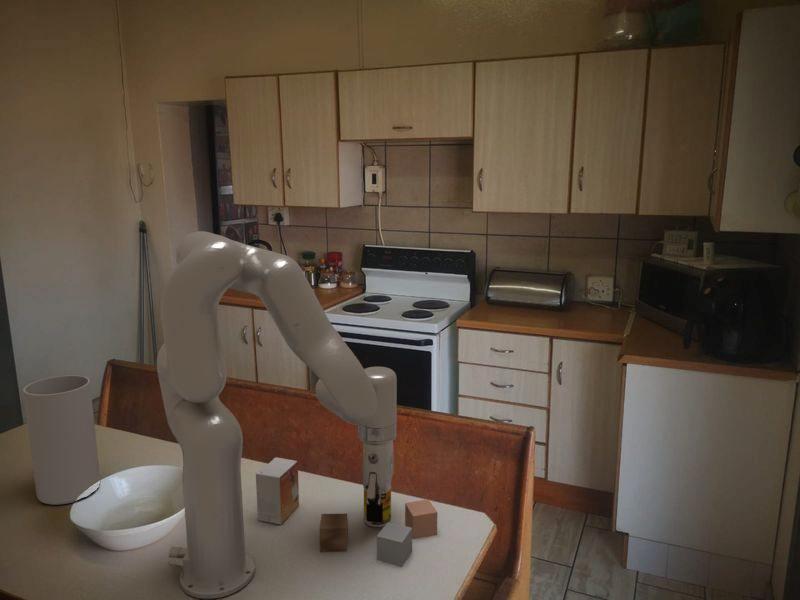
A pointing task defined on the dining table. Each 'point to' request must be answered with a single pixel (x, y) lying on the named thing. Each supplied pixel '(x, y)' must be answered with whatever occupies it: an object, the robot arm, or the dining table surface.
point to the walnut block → (333, 532)
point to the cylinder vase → (61, 437)
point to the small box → (277, 490)
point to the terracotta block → (421, 518)
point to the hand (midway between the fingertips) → (377, 511)
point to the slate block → (394, 544)
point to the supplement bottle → (386, 508)
